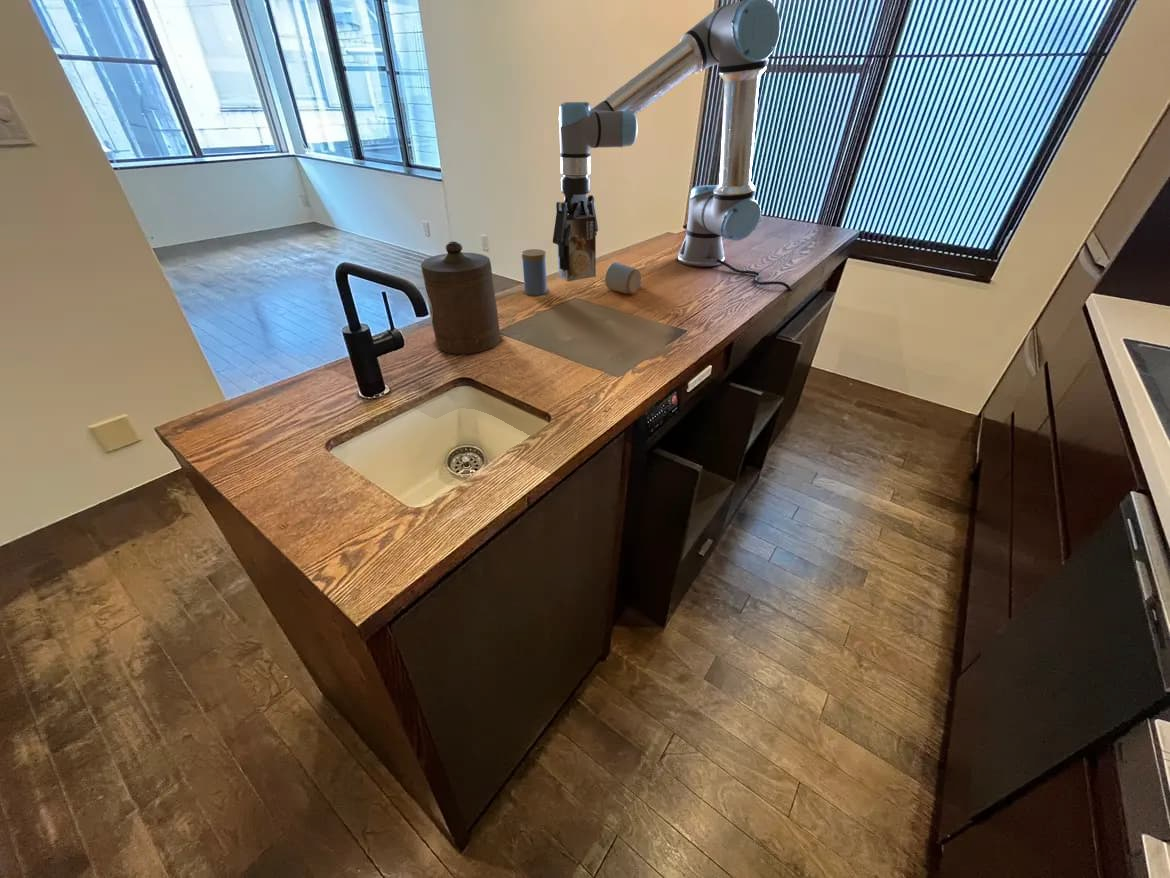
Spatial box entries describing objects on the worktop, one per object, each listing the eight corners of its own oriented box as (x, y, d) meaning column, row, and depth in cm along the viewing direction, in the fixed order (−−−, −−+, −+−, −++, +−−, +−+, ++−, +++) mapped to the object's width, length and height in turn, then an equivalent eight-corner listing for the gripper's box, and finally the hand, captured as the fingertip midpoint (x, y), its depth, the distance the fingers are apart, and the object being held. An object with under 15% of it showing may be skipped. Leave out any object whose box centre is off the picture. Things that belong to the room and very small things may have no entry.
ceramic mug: (627, 298, 135) (629, 270, 130) (604, 292, 139) (605, 264, 135) (647, 288, 142) (650, 262, 137) (624, 283, 146) (626, 257, 141)
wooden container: (458, 324, 121) (442, 231, 108) (511, 332, 117) (501, 236, 104) (423, 349, 109) (400, 248, 96) (480, 358, 105) (465, 255, 92)
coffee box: (585, 271, 142) (585, 212, 132) (596, 277, 137) (596, 216, 128) (557, 275, 138) (555, 215, 129) (567, 282, 134) (565, 220, 124)
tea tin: (552, 290, 141) (550, 251, 134) (537, 297, 136) (534, 257, 130) (534, 286, 144) (531, 247, 137) (519, 292, 139) (516, 253, 133)
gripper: (589, 169, 132) (589, 253, 145) (535, 180, 117) (540, 272, 130) (612, 171, 128) (609, 257, 141) (559, 183, 113) (562, 277, 126)
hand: (576, 264), depth 136 cm, fingers closed on coffee box, 10 cm apart
